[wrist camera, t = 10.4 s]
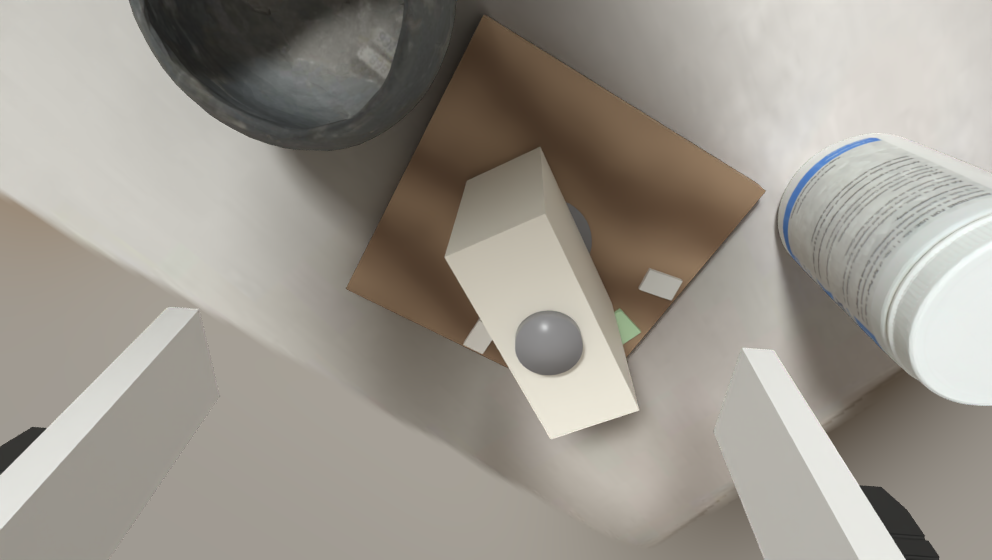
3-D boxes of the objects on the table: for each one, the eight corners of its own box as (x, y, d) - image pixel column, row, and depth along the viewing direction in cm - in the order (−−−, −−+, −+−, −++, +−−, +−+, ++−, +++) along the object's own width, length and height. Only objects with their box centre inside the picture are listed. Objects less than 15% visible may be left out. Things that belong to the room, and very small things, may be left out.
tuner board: (484, 14, 33) (482, 16, 32) (757, 183, 37) (766, 191, 35) (351, 278, 42) (345, 289, 40) (584, 393, 45) (585, 407, 44)
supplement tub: (761, 268, 40) (874, 411, 27) (787, 130, 35) (939, 222, 22) (907, 266, 39) (1096, 411, 26) (953, 126, 35) (1208, 216, 22)
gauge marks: (552, 206, 37) (552, 208, 36) (684, 281, 39) (685, 283, 38) (463, 342, 42) (463, 344, 42) (584, 401, 44) (584, 404, 44)
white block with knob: (466, 180, 36) (442, 265, 25) (540, 146, 35) (545, 220, 24) (566, 368, 42) (578, 497, 32) (631, 345, 41) (666, 471, 31)
